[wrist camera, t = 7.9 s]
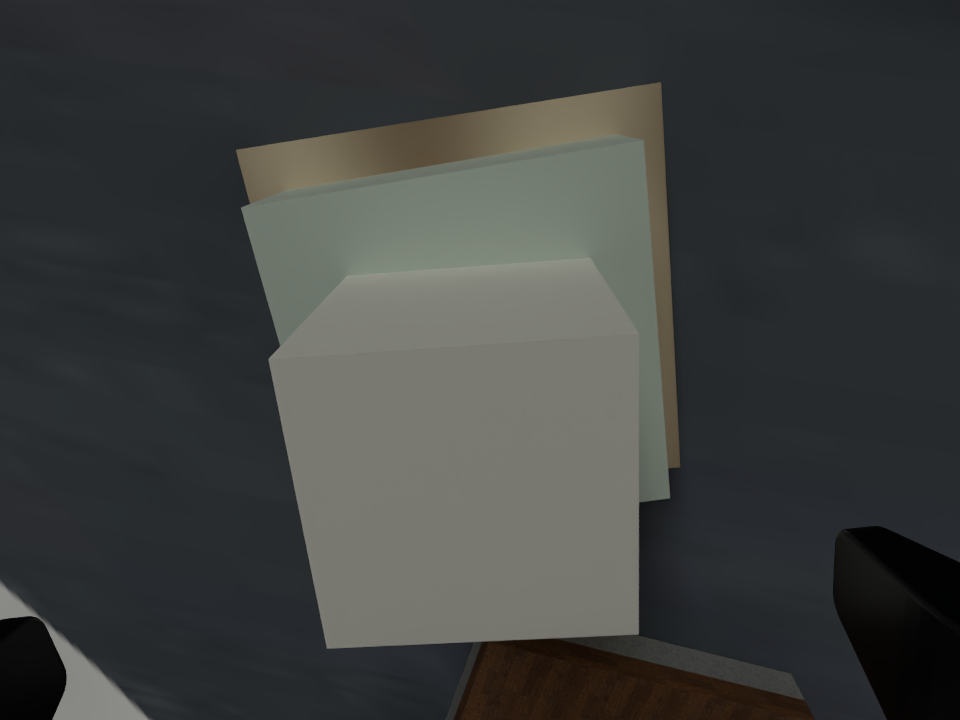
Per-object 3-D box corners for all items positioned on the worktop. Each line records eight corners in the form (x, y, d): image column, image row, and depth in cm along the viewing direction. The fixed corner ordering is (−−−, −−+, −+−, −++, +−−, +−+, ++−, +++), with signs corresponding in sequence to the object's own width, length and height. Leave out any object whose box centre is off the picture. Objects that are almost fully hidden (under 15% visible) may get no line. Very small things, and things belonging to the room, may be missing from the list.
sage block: (616, 134, 15) (643, 140, 13) (643, 438, 18) (670, 498, 15) (285, 190, 16) (240, 207, 13) (359, 476, 19) (335, 540, 16)
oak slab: (634, 86, 18) (660, 82, 15) (655, 419, 21) (680, 467, 19) (275, 143, 19) (236, 150, 16) (351, 457, 22) (330, 507, 19)
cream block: (590, 257, 14) (638, 333, 9) (595, 474, 15) (638, 634, 11) (346, 275, 14) (268, 359, 9) (378, 486, 15) (326, 648, 11)
